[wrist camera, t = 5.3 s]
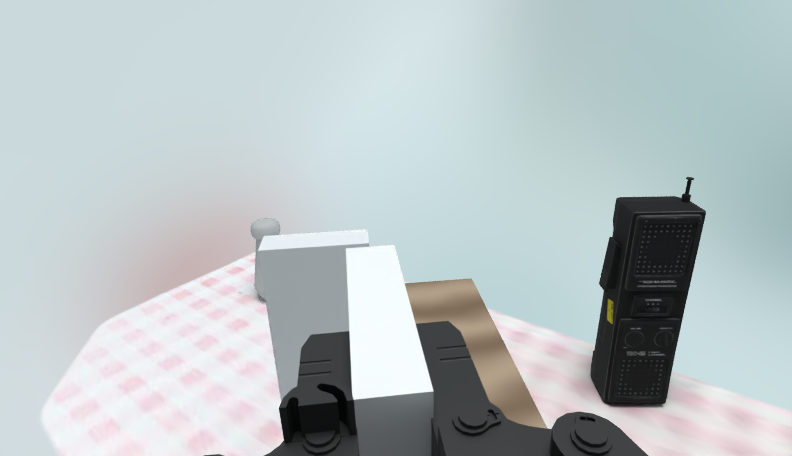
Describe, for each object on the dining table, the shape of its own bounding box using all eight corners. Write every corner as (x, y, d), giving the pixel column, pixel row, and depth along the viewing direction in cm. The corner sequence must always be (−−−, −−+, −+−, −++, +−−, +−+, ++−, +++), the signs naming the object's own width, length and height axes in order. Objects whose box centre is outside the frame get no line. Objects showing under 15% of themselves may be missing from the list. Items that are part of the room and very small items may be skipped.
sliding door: (322, 369, 60) (298, 146, 49) (371, 364, 60) (357, 143, 50) (309, 581, 37) (258, 250, 26) (387, 572, 37) (368, 243, 27)
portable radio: (596, 407, 53) (632, 192, 44) (578, 371, 59) (607, 173, 49) (669, 407, 53) (721, 191, 43) (644, 371, 58) (686, 172, 49)
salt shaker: (269, 284, 81) (258, 212, 76) (300, 289, 80) (291, 215, 75) (249, 302, 76) (236, 226, 71) (281, 307, 74) (270, 230, 69)
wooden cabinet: (357, 371, 60) (351, 287, 55) (468, 362, 61) (471, 278, 56) (365, 572, 38) (356, 459, 33) (538, 551, 39) (552, 439, 34)
